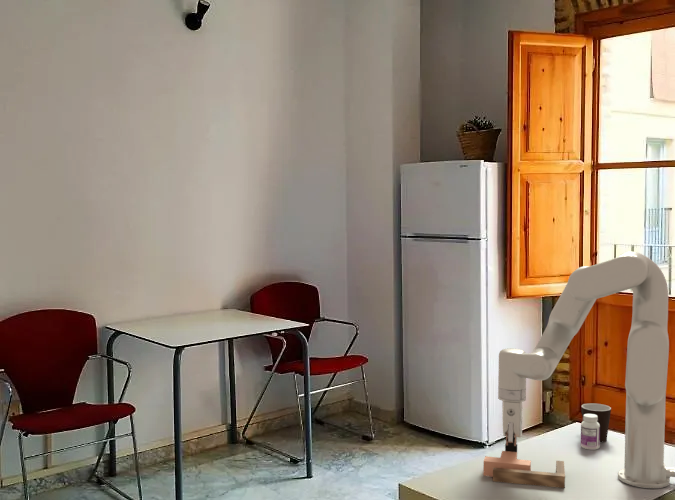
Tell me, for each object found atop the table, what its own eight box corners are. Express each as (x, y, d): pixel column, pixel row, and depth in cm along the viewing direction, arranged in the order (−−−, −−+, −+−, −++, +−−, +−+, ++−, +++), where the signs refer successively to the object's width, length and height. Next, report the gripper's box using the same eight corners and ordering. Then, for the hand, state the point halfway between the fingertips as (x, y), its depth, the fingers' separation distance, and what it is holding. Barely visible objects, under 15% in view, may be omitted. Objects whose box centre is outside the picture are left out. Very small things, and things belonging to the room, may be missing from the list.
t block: (531, 467, 210) (532, 453, 210) (529, 480, 201) (530, 465, 200) (487, 463, 214) (487, 449, 214) (483, 475, 204) (483, 461, 204)
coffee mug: (612, 444, 231) (613, 411, 230) (582, 442, 232) (583, 410, 232) (606, 433, 242) (607, 401, 241) (578, 431, 244) (579, 400, 243)
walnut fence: (563, 472, 207) (563, 461, 207) (564, 488, 195) (565, 476, 195) (495, 466, 212) (495, 455, 211) (492, 481, 200) (492, 470, 200)
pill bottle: (586, 443, 232) (587, 411, 231) (602, 447, 228) (603, 415, 227) (577, 447, 228) (577, 415, 228) (593, 451, 224) (594, 418, 224)
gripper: (525, 401, 205) (524, 468, 206) (526, 388, 219) (525, 451, 220) (496, 399, 207) (495, 466, 208) (499, 386, 221) (499, 449, 222)
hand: (511, 458), depth 214 cm, fingers closed
